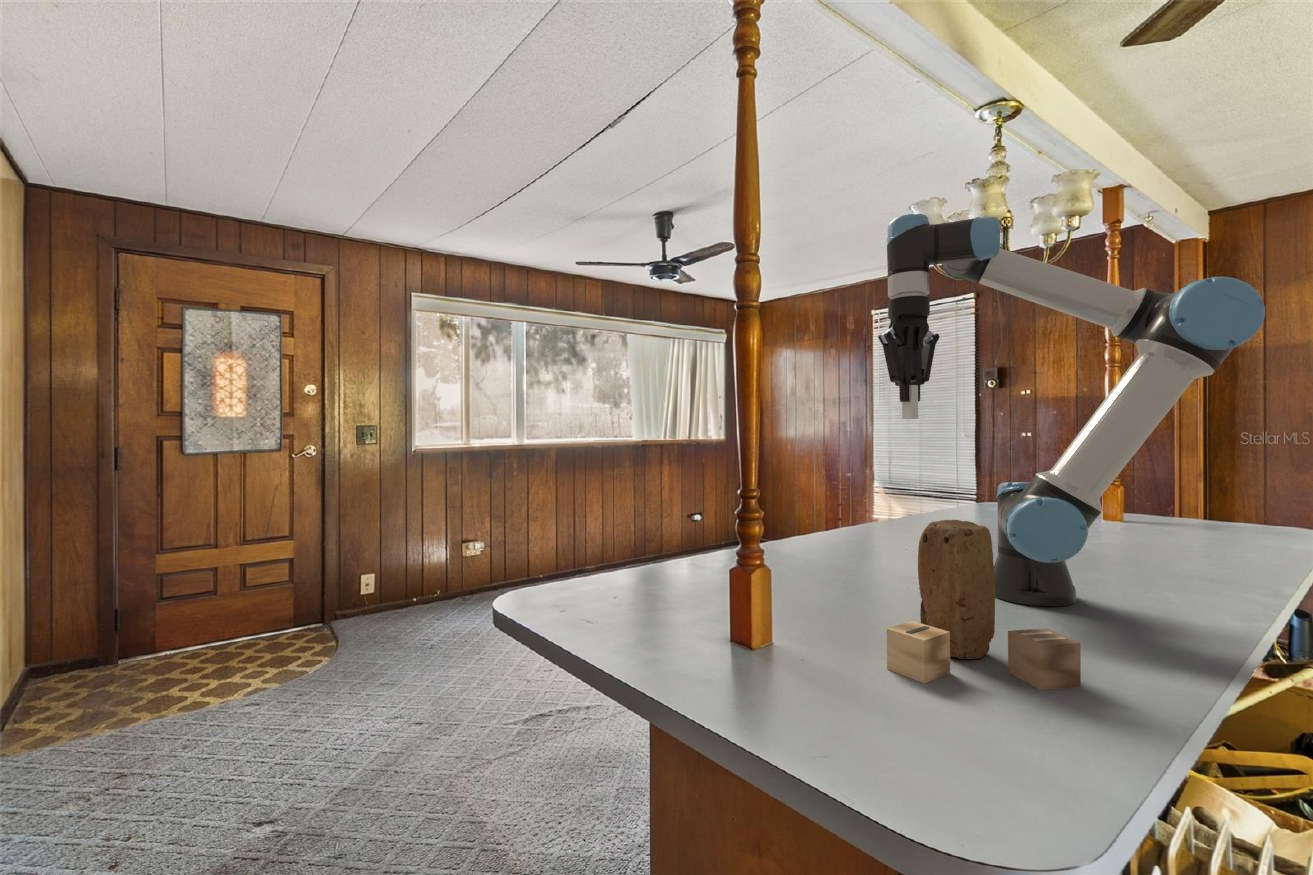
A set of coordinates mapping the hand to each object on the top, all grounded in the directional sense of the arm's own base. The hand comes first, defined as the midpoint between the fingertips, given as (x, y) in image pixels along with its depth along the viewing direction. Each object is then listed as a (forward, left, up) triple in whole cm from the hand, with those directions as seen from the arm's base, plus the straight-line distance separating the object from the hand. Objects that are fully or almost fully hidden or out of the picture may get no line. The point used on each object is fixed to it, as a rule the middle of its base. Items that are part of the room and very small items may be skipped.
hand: (910, 418), depth 120 cm
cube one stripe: (+22, +27, -36) cm, 51 cm away
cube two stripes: (+8, +35, -36) cm, 51 cm away
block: (+11, +22, -37) cm, 44 cm away
